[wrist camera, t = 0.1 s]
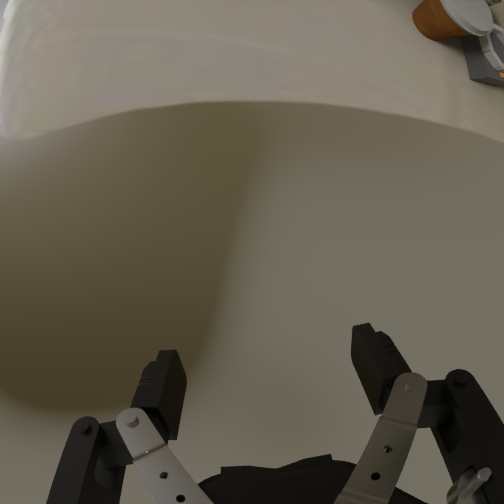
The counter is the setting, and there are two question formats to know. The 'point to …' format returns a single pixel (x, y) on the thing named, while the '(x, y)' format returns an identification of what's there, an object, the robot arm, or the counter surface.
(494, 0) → the thermos
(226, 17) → the counter surface
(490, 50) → the grey octagonal socket block
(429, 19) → the disposable coffee cup
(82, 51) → the counter surface
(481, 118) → the counter surface
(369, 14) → the counter surface
